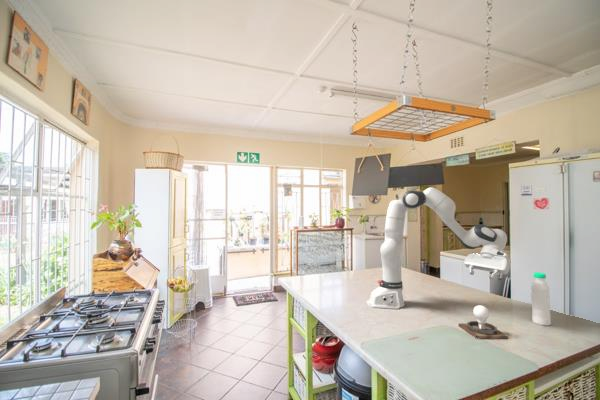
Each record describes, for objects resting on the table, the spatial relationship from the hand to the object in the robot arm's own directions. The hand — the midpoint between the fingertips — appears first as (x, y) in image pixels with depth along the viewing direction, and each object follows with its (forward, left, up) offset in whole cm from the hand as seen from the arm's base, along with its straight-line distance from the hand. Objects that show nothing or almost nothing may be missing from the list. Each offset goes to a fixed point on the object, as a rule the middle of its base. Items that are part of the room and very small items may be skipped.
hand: (480, 275), depth 143 cm
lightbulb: (-7, -11, -22) cm, 26 cm away
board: (-7, -11, -23) cm, 27 cm away
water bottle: (+29, -1, -24) cm, 37 cm away
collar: (-7, -11, -22) cm, 26 cm away
